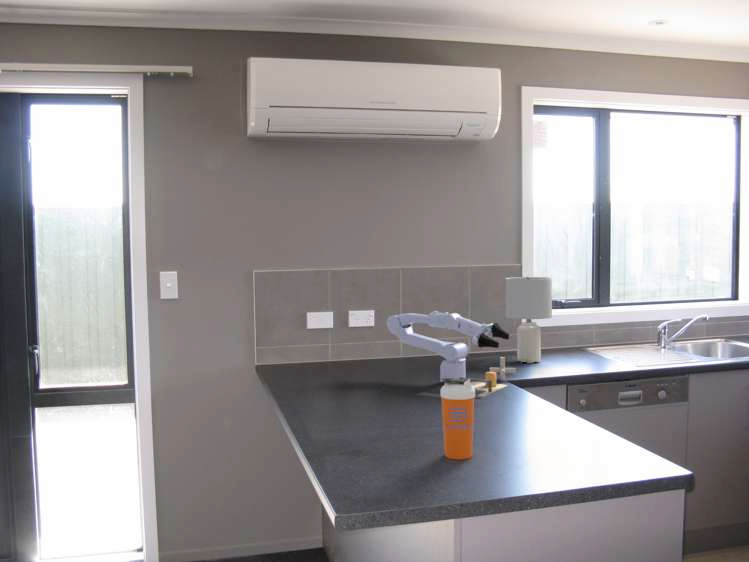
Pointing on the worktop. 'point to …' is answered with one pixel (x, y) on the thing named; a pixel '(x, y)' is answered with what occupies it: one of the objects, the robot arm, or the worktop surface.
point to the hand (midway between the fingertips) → (503, 341)
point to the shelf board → (481, 385)
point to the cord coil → (491, 378)
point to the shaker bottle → (458, 417)
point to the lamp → (529, 312)
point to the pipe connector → (502, 369)
